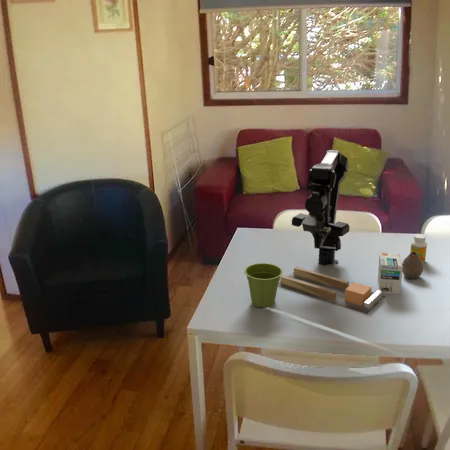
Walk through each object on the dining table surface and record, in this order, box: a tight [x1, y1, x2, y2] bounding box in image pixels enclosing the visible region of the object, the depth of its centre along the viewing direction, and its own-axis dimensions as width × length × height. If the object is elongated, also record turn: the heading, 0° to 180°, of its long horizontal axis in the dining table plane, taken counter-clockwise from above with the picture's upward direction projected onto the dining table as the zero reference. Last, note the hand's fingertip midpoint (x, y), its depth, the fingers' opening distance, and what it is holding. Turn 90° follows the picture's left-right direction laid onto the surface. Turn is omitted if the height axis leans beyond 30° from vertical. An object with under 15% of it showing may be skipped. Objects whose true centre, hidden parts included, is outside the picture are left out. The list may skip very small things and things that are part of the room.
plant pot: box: [244, 262, 283, 309], centre depth 169 cm, size 12×12×11 cm
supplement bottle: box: [409, 233, 428, 264], centre depth 196 cm, size 5×5×10 cm
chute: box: [278, 266, 386, 315], centre depth 175 cm, size 14×33×3 cm, turn 52°
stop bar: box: [364, 289, 383, 311], centre depth 166 cm, size 10×2×2 cm, turn 142°
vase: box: [401, 252, 424, 280], centre depth 184 cm, size 7×7×9 cm
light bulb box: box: [377, 252, 403, 295], centre depth 176 cm, size 11×7×11 cm, turn 168°
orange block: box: [345, 281, 372, 306], centre depth 169 cm, size 6×6×4 cm
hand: (319, 248), depth 180 cm, fingers closed
